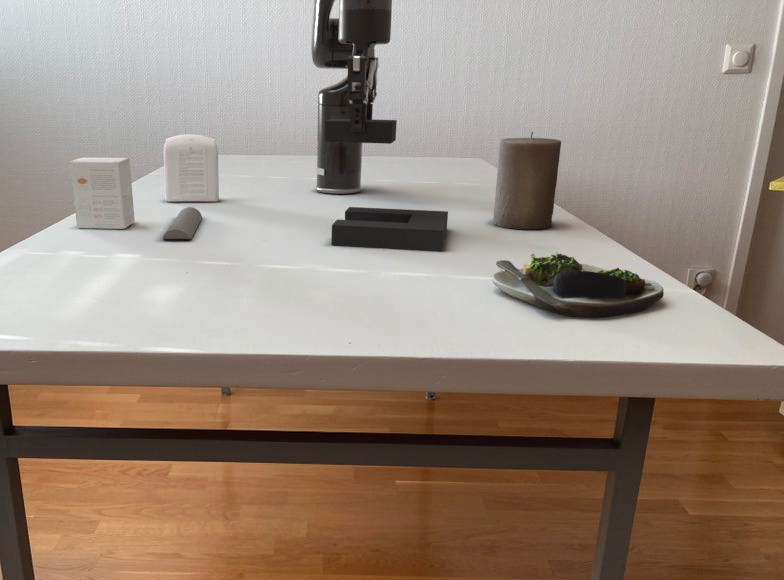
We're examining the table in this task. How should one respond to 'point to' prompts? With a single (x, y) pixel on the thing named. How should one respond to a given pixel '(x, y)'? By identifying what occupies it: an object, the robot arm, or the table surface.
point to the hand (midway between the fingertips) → (361, 129)
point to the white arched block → (191, 169)
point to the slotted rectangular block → (391, 228)
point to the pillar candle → (526, 182)
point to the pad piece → (373, 134)
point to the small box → (102, 192)
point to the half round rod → (184, 224)
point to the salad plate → (576, 287)
